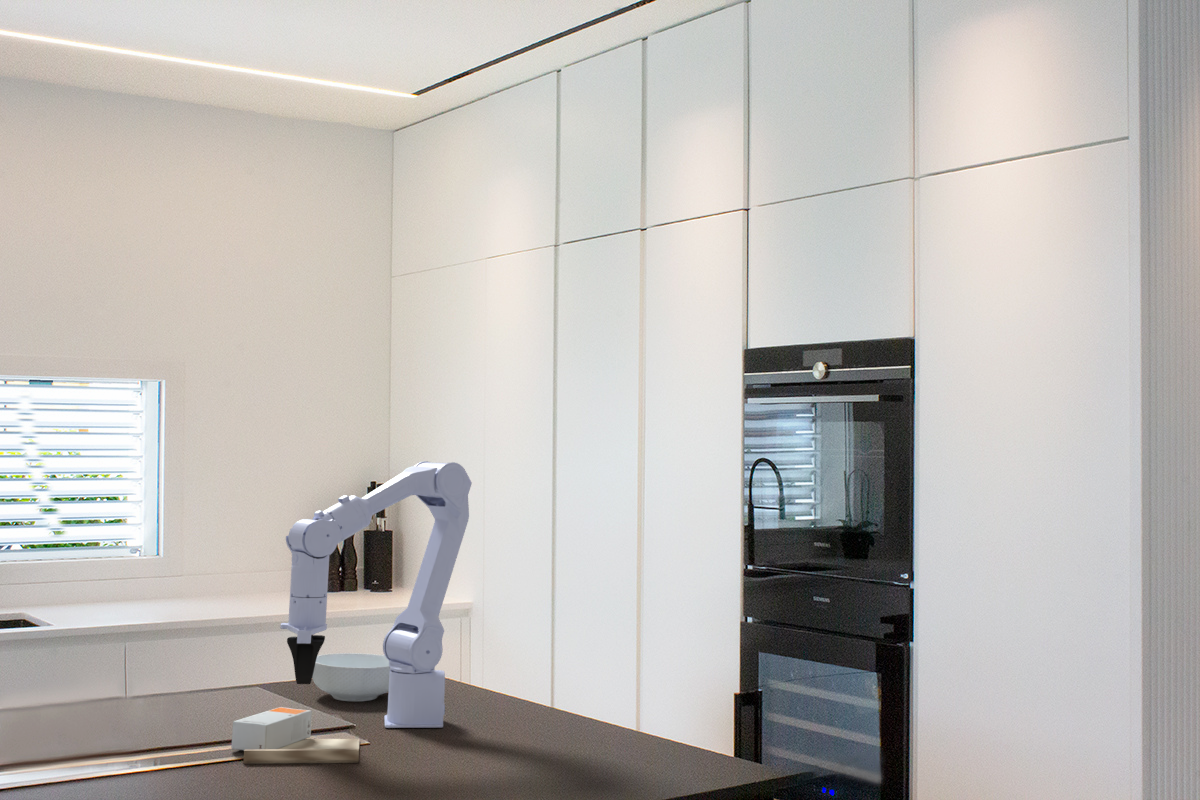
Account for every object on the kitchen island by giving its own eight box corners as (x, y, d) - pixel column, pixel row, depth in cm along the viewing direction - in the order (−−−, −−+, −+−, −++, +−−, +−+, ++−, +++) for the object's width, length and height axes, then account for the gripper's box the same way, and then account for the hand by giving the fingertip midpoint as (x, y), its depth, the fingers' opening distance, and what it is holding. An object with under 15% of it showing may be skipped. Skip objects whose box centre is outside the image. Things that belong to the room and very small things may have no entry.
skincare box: (312, 709, 179) (266, 725, 168) (311, 737, 179) (265, 754, 168) (279, 705, 181) (231, 720, 170) (278, 733, 181) (230, 750, 170)
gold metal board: (359, 741, 180) (359, 729, 180) (358, 762, 167) (359, 750, 167) (252, 741, 176) (253, 729, 177) (243, 763, 164) (244, 750, 164)
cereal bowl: (391, 709, 205) (393, 668, 205) (298, 704, 205) (300, 664, 205) (408, 690, 221) (410, 653, 222) (322, 687, 222) (324, 649, 222)
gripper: (285, 590, 188) (280, 674, 187) (278, 600, 174) (273, 692, 173) (330, 591, 189) (325, 675, 188) (326, 601, 175) (321, 692, 174)
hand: (303, 683), depth 181 cm, fingers closed
